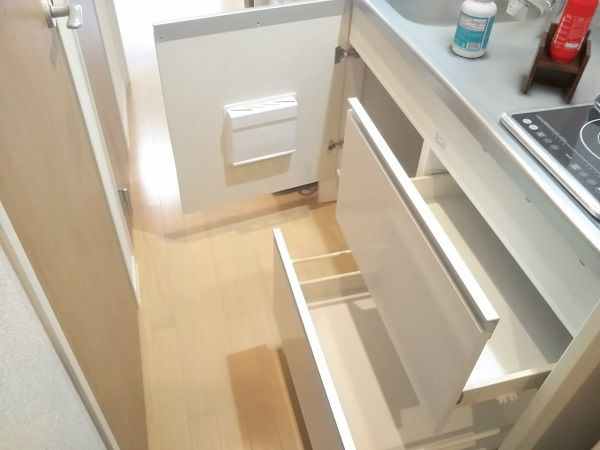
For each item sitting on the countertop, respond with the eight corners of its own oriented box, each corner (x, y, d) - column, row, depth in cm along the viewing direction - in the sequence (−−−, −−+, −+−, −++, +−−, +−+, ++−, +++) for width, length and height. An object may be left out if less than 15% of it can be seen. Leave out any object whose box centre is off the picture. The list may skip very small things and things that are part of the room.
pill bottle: (469, 43, 122) (485, -17, 113) (491, 56, 118) (509, -6, 108) (444, 48, 120) (458, -13, 111) (465, 61, 115) (482, -1, 106)
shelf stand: (571, 86, 108) (595, 30, 100) (569, 104, 103) (595, 45, 95) (526, 77, 111) (547, 21, 102) (522, 93, 105) (544, 35, 97)
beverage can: (546, 60, 101) (570, -4, 93) (547, 50, 104) (570, -13, 96) (574, 65, 99) (601, 1, 91) (574, 55, 103) (600, -8, 95)
